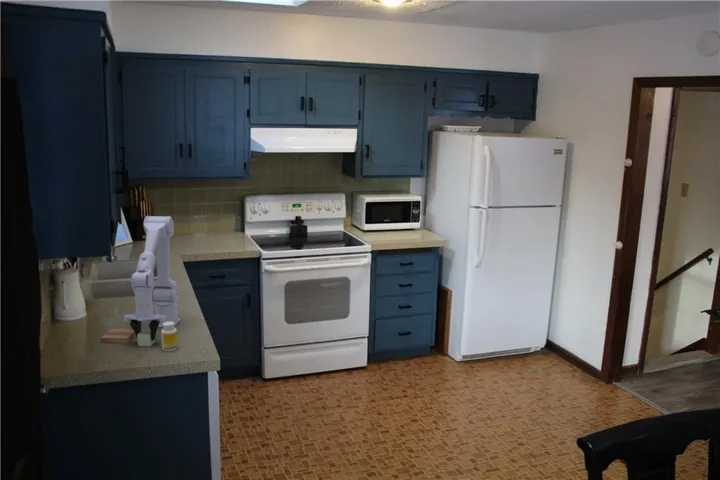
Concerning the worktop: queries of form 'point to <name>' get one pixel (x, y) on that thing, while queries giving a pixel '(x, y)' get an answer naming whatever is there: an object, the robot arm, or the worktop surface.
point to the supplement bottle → (169, 336)
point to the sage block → (144, 338)
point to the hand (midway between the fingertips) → (146, 339)
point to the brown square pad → (118, 336)
